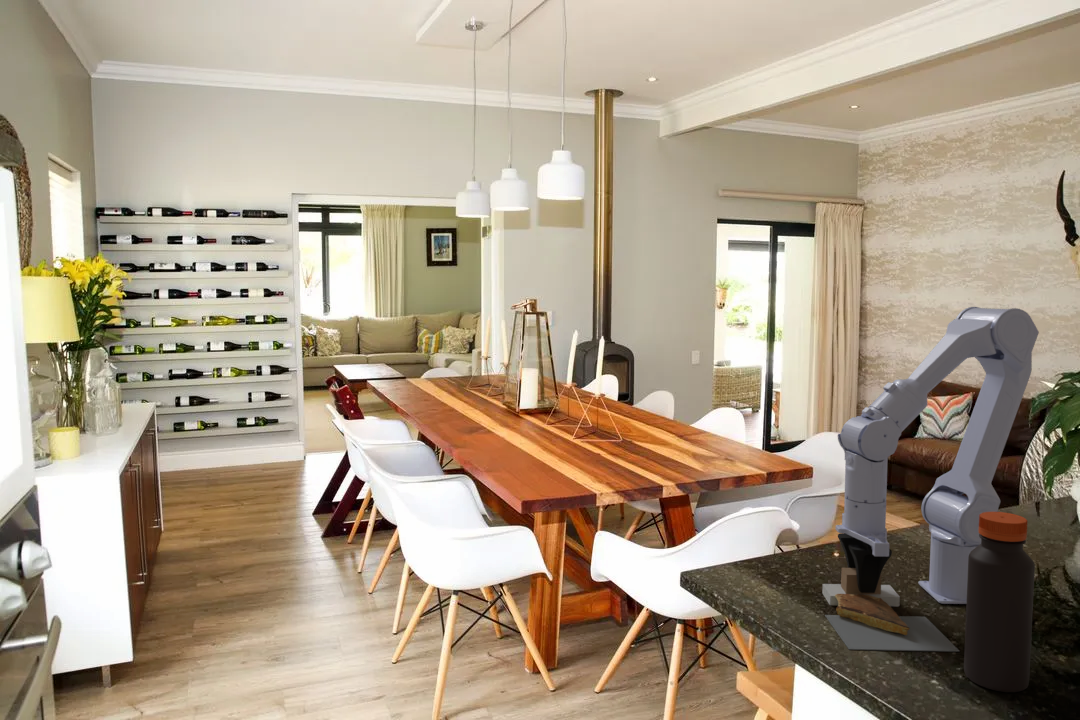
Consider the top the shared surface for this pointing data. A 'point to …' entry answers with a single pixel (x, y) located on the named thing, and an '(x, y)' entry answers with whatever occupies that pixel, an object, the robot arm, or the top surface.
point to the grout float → (851, 587)
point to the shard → (870, 612)
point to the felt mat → (891, 635)
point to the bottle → (999, 605)
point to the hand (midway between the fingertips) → (862, 587)
